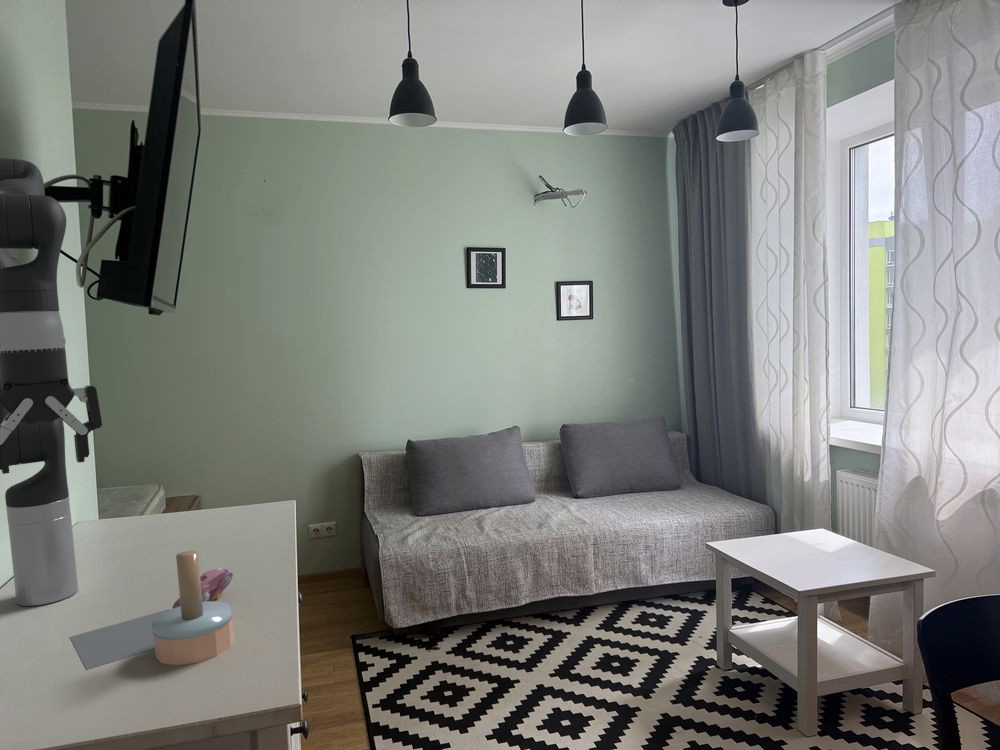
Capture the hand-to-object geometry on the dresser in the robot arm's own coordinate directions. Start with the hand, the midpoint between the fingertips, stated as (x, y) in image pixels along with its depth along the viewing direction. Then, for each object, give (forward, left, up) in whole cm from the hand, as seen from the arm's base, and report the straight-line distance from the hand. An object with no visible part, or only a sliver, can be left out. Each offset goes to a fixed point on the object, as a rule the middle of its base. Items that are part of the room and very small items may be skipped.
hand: (44, 467), depth 94 cm
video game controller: (-8, +21, -28) cm, 36 cm away
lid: (+8, +15, -24) cm, 29 cm away
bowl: (+8, +15, -28) cm, 33 cm away
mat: (-3, +9, -28) cm, 30 cm away
